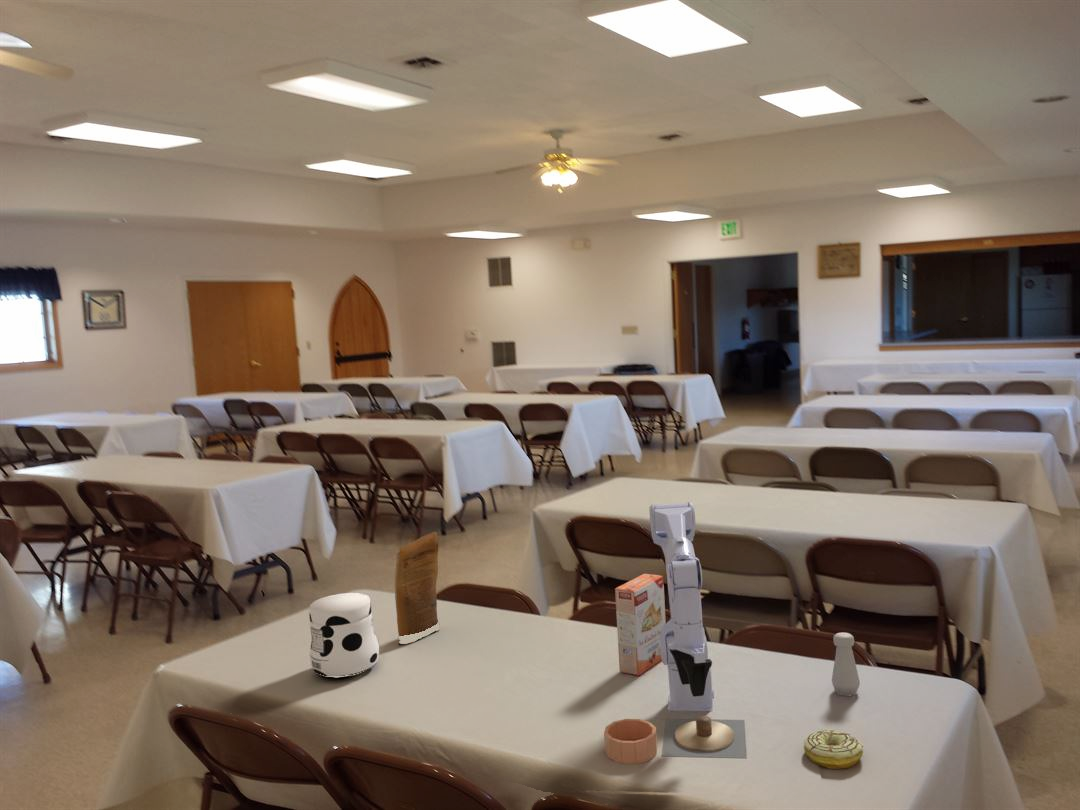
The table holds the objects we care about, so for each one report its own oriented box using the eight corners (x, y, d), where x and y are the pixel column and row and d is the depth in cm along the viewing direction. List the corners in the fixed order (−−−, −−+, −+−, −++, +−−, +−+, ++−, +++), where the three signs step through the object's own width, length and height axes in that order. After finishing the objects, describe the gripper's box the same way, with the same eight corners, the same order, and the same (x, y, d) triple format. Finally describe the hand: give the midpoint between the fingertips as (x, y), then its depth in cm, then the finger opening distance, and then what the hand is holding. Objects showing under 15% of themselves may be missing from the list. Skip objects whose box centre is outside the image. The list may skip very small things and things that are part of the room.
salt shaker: (838, 684, 201) (835, 627, 199) (864, 689, 197) (861, 632, 196) (828, 694, 196) (825, 636, 195) (854, 699, 192) (851, 640, 191)
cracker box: (640, 677, 213) (634, 591, 211) (618, 672, 216) (612, 588, 214) (669, 657, 224) (664, 574, 222) (648, 652, 227) (643, 572, 225)
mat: (744, 721, 186) (744, 719, 186) (746, 760, 171) (746, 758, 171) (666, 720, 189) (666, 718, 189) (661, 758, 174) (661, 756, 174)
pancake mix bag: (453, 626, 258) (445, 531, 255) (407, 649, 243) (397, 548, 240) (436, 623, 262) (427, 529, 259) (389, 645, 247) (379, 545, 244)
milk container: (388, 656, 239) (381, 590, 237) (369, 682, 222) (362, 611, 220) (325, 658, 241) (318, 593, 239) (301, 685, 224) (294, 614, 222)
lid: (733, 724, 185) (732, 706, 184) (734, 752, 173) (733, 733, 173) (676, 723, 187) (675, 706, 186) (673, 750, 175) (672, 732, 175)
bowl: (658, 740, 181) (657, 719, 180) (655, 765, 171) (654, 743, 171) (609, 739, 183) (607, 718, 182) (603, 764, 173) (601, 742, 173)
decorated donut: (864, 747, 172) (863, 728, 172) (862, 775, 163) (861, 755, 162) (807, 741, 176) (806, 723, 176) (802, 768, 166) (801, 749, 166)
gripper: (658, 614, 185) (663, 680, 185) (677, 631, 171) (682, 703, 171) (692, 611, 186) (696, 677, 186) (713, 628, 172) (718, 699, 172)
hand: (692, 689), depth 179 cm, fingers open, 7 cm apart
